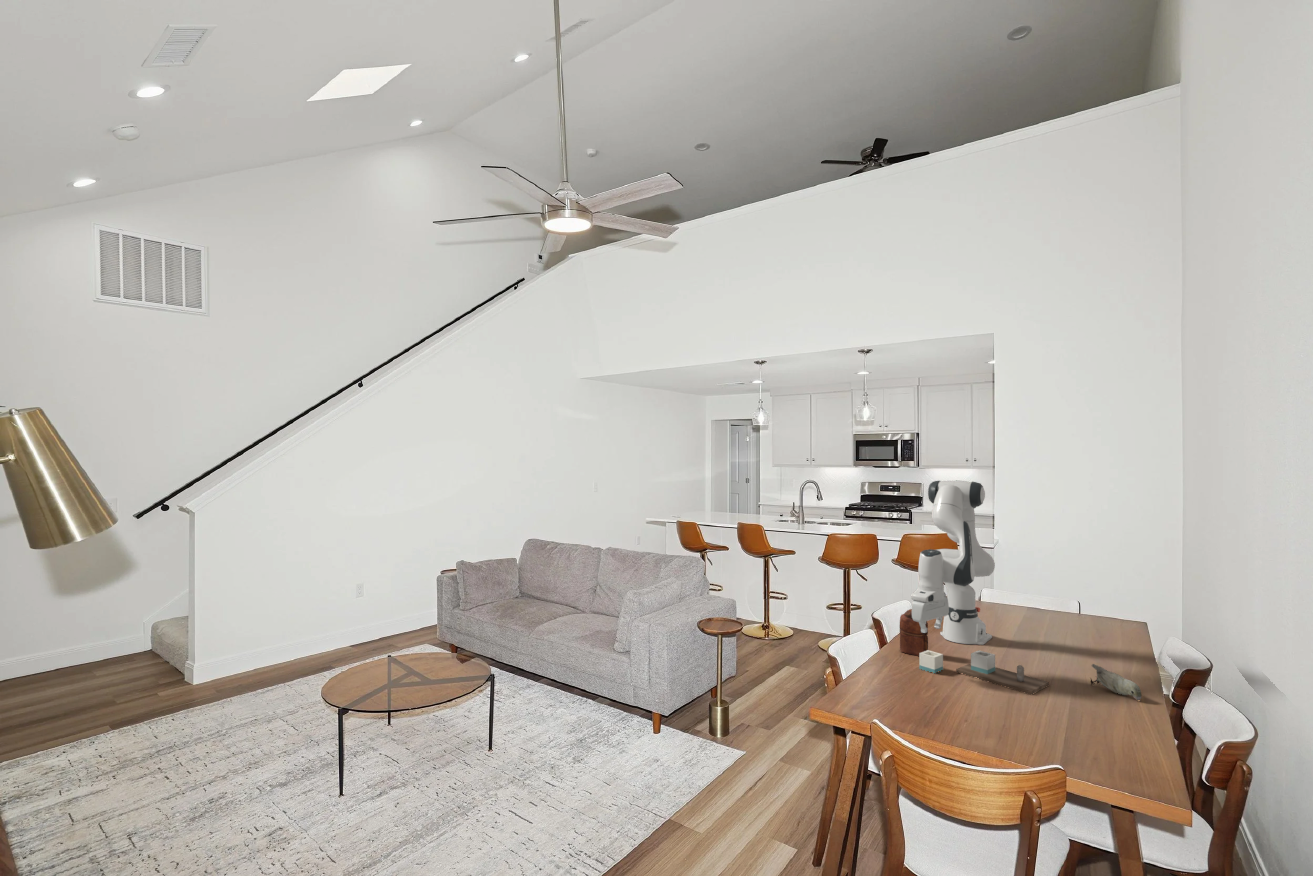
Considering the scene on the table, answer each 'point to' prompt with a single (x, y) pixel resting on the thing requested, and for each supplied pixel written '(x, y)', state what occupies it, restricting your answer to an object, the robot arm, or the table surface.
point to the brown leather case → (912, 635)
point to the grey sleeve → (983, 662)
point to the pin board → (1008, 678)
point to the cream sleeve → (930, 661)
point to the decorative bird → (1116, 683)
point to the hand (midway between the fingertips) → (930, 630)
